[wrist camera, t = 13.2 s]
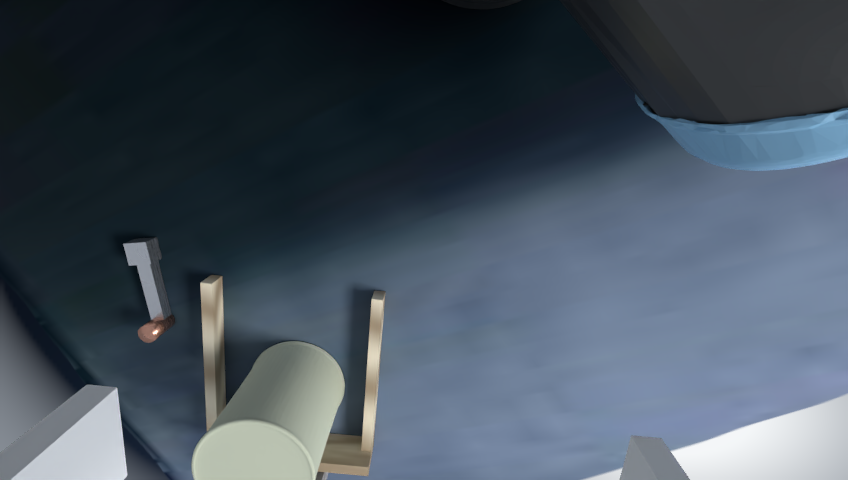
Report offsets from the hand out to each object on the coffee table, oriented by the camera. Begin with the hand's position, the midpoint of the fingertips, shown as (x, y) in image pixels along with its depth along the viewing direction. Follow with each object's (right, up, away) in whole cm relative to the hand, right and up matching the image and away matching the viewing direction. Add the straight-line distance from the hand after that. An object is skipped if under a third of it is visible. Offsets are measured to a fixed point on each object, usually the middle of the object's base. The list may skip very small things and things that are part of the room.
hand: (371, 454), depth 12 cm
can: (-11, -8, +32) cm, 35 cm away
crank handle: (-23, +1, +30) cm, 38 cm away
